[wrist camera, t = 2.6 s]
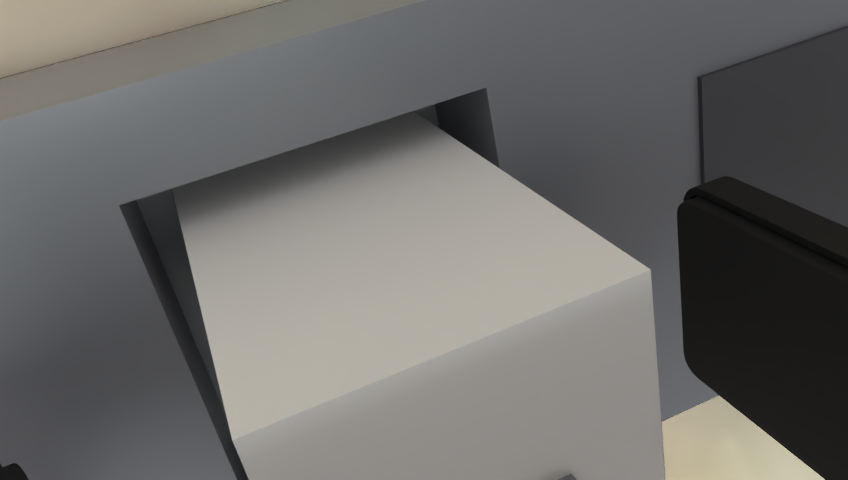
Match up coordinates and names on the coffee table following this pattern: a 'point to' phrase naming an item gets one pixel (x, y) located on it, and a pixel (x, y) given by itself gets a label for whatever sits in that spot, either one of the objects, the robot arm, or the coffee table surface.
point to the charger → (418, 318)
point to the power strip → (349, 110)
